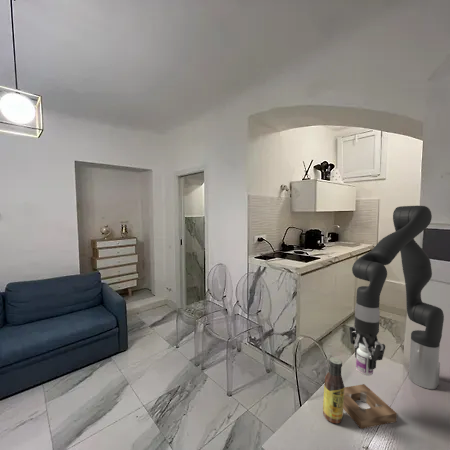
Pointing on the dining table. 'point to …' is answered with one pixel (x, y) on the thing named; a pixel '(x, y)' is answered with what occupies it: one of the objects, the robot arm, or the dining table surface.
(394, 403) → the dining table surface
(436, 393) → the dining table surface
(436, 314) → the robot arm
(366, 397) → the mount
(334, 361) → the sauce bottle
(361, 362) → the pill bottle
